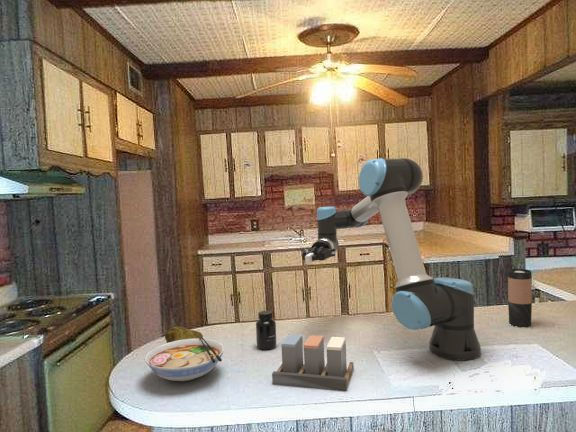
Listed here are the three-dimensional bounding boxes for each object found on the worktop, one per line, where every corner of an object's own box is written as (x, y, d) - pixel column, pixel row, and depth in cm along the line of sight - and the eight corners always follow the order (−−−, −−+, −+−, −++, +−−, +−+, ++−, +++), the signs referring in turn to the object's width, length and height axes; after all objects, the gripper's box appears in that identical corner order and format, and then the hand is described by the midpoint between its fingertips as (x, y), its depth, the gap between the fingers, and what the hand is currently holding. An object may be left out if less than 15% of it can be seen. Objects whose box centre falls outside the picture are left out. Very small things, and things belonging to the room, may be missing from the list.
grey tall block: (333, 369, 127) (331, 336, 126) (346, 370, 126) (345, 337, 125) (327, 381, 119) (326, 346, 118) (342, 382, 118) (340, 347, 117)
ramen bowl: (143, 368, 134) (141, 342, 134) (215, 354, 143) (214, 330, 142) (149, 404, 111) (147, 373, 111) (235, 385, 120) (233, 356, 119)
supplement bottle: (274, 351, 144) (272, 315, 143) (254, 350, 145) (252, 315, 144) (278, 343, 150) (277, 309, 149) (259, 342, 152) (258, 309, 151)
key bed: (287, 363, 133) (286, 354, 133) (353, 368, 127) (353, 358, 127) (272, 384, 119) (271, 373, 119) (346, 390, 113) (345, 379, 113)
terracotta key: (311, 367, 129) (310, 335, 128) (324, 368, 127) (323, 336, 127) (305, 379, 121) (303, 345, 120) (318, 380, 120) (317, 346, 119)
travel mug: (536, 327, 154) (536, 272, 153) (514, 328, 154) (514, 273, 153) (524, 320, 162) (524, 268, 161) (504, 321, 162) (503, 269, 161)
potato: (205, 349, 148) (203, 326, 147) (166, 355, 144) (164, 332, 143) (202, 341, 156) (201, 320, 155) (165, 347, 152) (164, 324, 151)
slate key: (290, 365, 130) (289, 334, 130) (303, 366, 129) (302, 334, 129) (282, 377, 123) (281, 343, 122) (296, 378, 122) (294, 344, 121)
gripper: (339, 259, 162) (327, 271, 140) (306, 259, 166) (288, 271, 143) (339, 239, 162) (326, 248, 139) (305, 239, 166) (287, 248, 143)
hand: (307, 260), depth 141 cm, fingers closed
